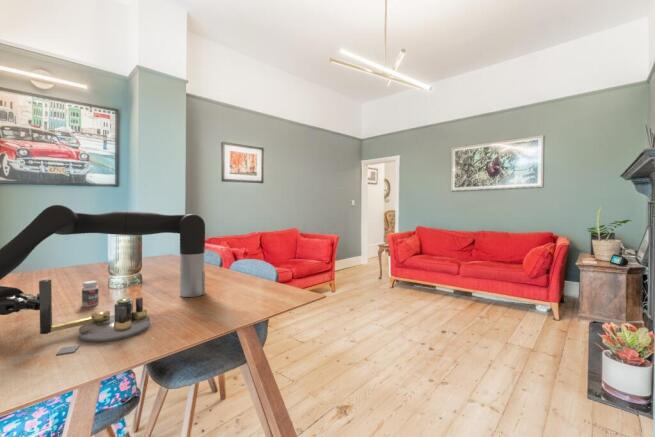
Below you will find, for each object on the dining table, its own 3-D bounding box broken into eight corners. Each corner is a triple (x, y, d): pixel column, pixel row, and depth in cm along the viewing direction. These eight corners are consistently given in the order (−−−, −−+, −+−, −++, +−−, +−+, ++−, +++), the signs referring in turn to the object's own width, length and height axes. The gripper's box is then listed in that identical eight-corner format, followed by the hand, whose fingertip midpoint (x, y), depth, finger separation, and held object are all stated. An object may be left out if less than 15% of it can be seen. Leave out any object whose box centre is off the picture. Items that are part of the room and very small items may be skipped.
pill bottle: (89, 307, 107) (89, 284, 106) (78, 306, 108) (78, 283, 107) (101, 303, 111) (101, 280, 111) (91, 302, 112) (91, 280, 112)
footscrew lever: (107, 315, 93) (106, 271, 92) (111, 319, 90) (111, 273, 89) (38, 331, 81) (37, 280, 80) (41, 336, 78) (40, 282, 77)
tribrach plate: (152, 316, 99) (152, 289, 99) (146, 336, 84) (146, 305, 84) (88, 323, 92) (88, 295, 92) (69, 347, 77) (68, 314, 76)
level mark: (79, 346, 78) (79, 345, 78) (74, 352, 74) (74, 351, 74) (61, 348, 76) (61, 347, 76) (55, 355, 73) (55, 354, 73)
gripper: (-37, 293, 78) (10, 299, 74) (25, 281, 91) (68, 285, 87) (-36, 321, 79) (11, 329, 74) (26, 305, 91) (69, 311, 87)
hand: (42, 305), depth 80 cm, fingers closed
